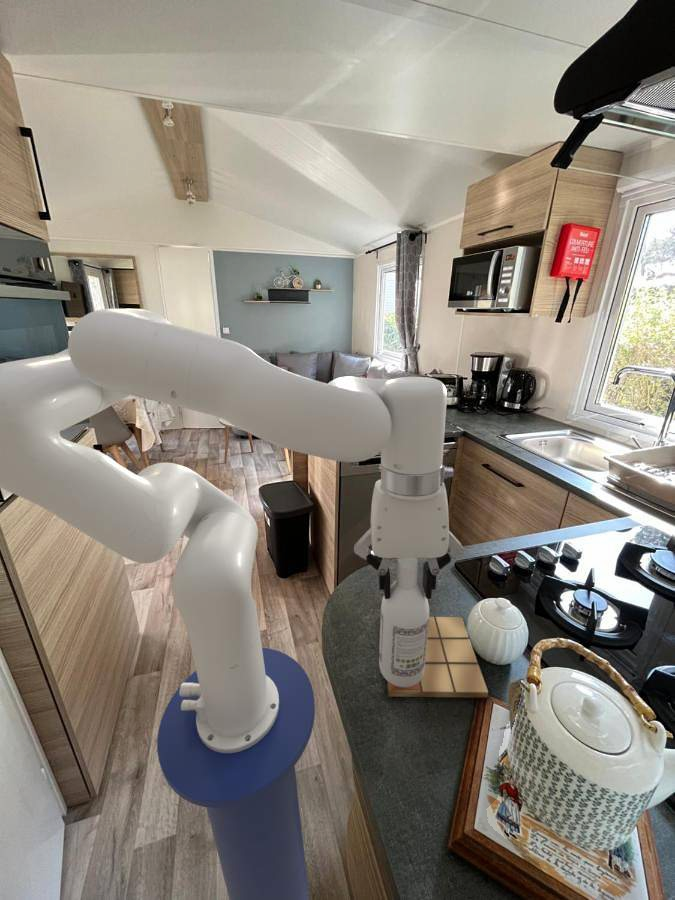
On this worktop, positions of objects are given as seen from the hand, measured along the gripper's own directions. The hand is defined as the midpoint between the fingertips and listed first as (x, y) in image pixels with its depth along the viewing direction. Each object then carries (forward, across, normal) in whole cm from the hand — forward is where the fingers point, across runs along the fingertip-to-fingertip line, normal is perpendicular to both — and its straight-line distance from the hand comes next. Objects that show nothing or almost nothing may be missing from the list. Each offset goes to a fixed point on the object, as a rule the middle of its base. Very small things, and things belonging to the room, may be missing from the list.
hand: (406, 591), depth 54 cm
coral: (+18, -16, +10) cm, 26 cm away
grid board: (+18, -5, -5) cm, 19 cm away
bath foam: (+15, 0, 0) cm, 15 cm away
